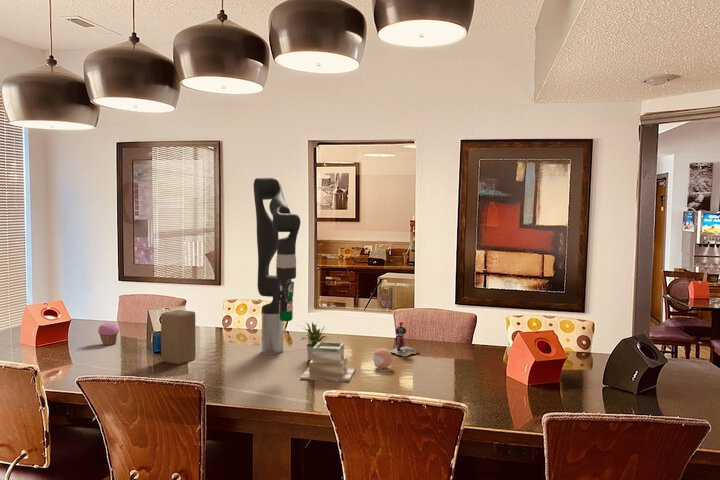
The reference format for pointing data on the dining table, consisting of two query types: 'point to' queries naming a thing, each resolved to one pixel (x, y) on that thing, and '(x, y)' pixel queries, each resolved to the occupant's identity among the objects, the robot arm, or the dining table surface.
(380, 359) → the toy ball
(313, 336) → the house plant
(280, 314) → the soda can
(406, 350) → the statue
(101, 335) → the cupcake
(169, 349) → the block
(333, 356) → the tower base
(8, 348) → the dining table surface
